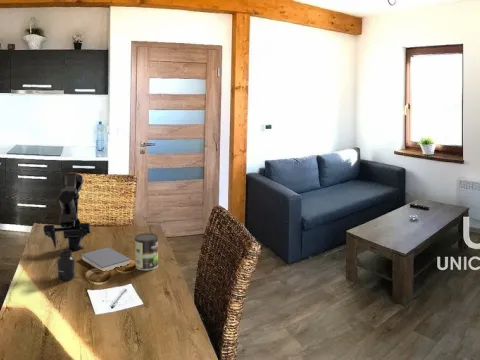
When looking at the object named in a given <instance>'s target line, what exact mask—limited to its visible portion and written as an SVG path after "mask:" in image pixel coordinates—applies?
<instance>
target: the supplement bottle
mask: <svg viewBox="0 0 480 360" xmlns="http://www.w3.org/2000/svg"><path fill="white" fill-rule="evenodd" d="M58 252H59V253H58V258H57V259H56V273H57V280H59V282H60V281H61V282H70V281H72V280H74V279H75V277H76V268H75V267H76V265H75V257H74V256H72V255H73V253H72V252H73V251H71V250H68V249H61V250H59V251H58Z"/></svg>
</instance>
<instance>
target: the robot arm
mask: <svg viewBox="0 0 480 360" xmlns="http://www.w3.org/2000/svg"><path fill="white" fill-rule="evenodd" d="M64 184H65V187H64V188H62V190H61V192H59V195H58V202H59V204H60V208H61V214H59V226H55V224H54V223H52V224H45V225H44V226H43V230H42V231H43V233H44V235H45V236H46V237H48V238H50V239H51V240H52V243H53V247H54V248H55V249H56V248H57V238H56V237H57V236H56V232H63V238H64V239H67V245H68V246H65V250H71V252H75V251H79V250H83V249H84V246H82V245H81V243H82V240H83V239H84V238H85V237H86V236H87V235H88V234H91V225H90V223H89V222H81V220H80V219H79V199H80V194H79V193H80V191H81V190H82V188H83V187H82V186H83V185H84V178H83V175H81V174H78V172H67V173H66V175H65V176H64Z"/></svg>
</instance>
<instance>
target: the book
mask: <svg viewBox="0 0 480 360" xmlns="http://www.w3.org/2000/svg"><path fill="white" fill-rule="evenodd" d="M80 255H81V258H82V261H84V262H86V263H87V264H89V265H90V266H92V267H94V268H96V269H97V268H100V269H103V270H107V271H106V272H108V271H111V270H115V269H114V268H115V267H119V268H121V267H120V266H122V267H125V266H128V265H127V264H129V263H130V264H131V258H130V257H128V256H125V255H124V254H122V253H120V252H118V251H116V250H114V249H112V248H110V247H109V246H108V247H104V248H100V249H97V250H93V251H89V252H85V253H80ZM130 264H129V265H130Z"/></svg>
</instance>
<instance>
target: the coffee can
mask: <svg viewBox="0 0 480 360" xmlns="http://www.w3.org/2000/svg"><path fill="white" fill-rule="evenodd" d="M134 243H135V245H134V246H135V247H134V248H135V249H134V251H135V253H134V256H135V258H134V259H135V266H136V267H135V269H137V270H139V271H151V270H155V269H157V268H158V267H159V236H158V235H157V234H155V233H140V234H137V235H135V236H134Z"/></svg>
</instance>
